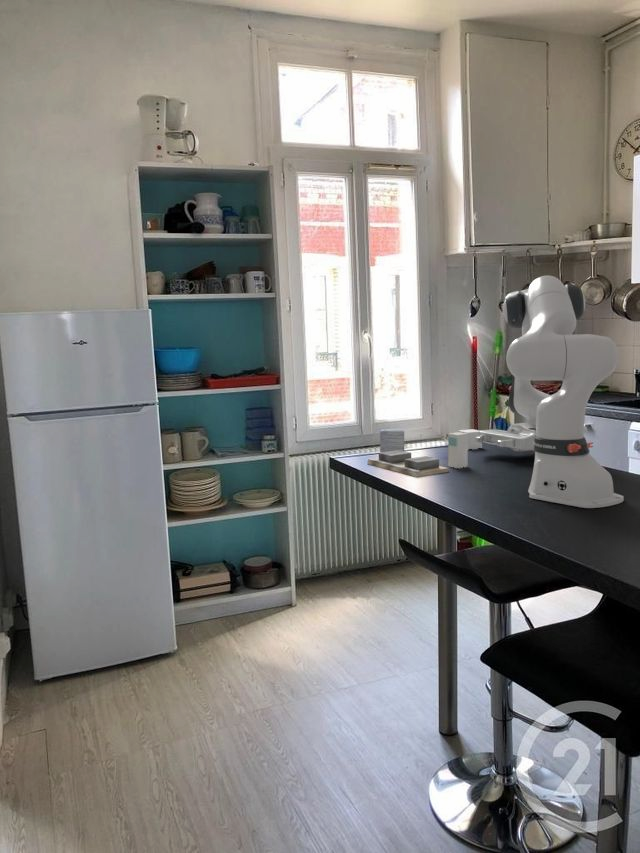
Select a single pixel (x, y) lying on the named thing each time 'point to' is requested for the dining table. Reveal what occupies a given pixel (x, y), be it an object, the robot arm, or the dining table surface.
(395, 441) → the medicine box
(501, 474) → the dining table surface
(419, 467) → the mounting board
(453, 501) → the dining table surface
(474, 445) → the white cube
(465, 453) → the block
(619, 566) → the dining table surface
